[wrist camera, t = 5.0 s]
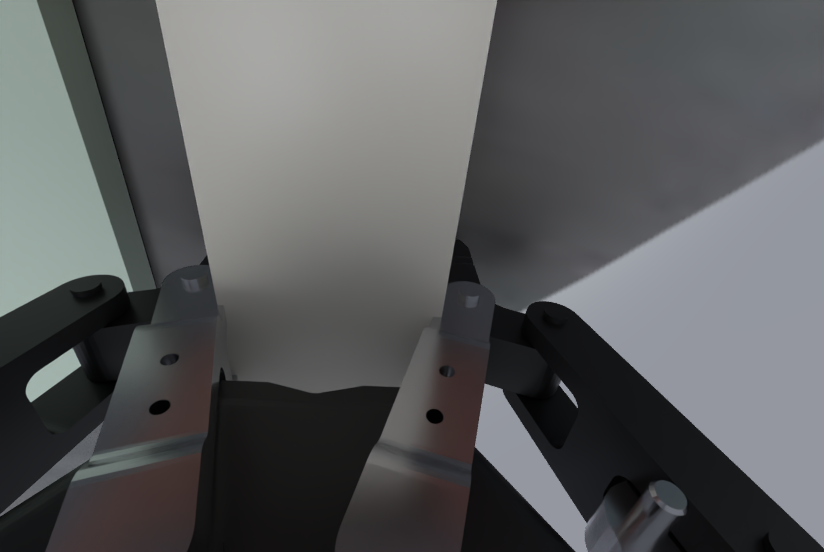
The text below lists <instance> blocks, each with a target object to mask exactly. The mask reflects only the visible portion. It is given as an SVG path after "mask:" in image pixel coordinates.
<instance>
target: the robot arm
mask: <svg viewBox="0 0 824 552" xmlns="http://www.w3.org/2000/svg"><path fill="white" fill-rule="evenodd" d="M226 335H227V320H226V315H225V310H224V305H217V301H216V296H215V291H214V286H213V281H212V276H211V271H210V266H209V261H208V256H206V257H205V259H204V260H203V261H202V262H201V264H200V265H194V266H188V267H184V268H181V269H178V270H176V271H174V272H172V273H170V274H169V275H168V276H167V277H166V278H165V279H164V280H163V283H162V286H161V288H158V289H151V290H142V291H134V292H127V290H126V287H125V284H124V282H123V280H122V279H121V278H119V277H117V276H113V275H105V274H104V275H90V276H85V277H81V278H77V279H74V280H71V281H69V282H66V283H64V284H62V285H60V286H58V287H56V288H54V289H53V290H51V291H49V292H47V293H45V294H43V295H41V296H39V297H37V298H35V299H34V300H32V301H30V302H28V303H26V304H24V305H22V306H20V307H18V308H16V309H15V310H13V311H11V312H9V313H7V314H5V315H3V316H1V317H0V514H1V513H2V512H3V511H4V510H5V509H6V508H7V507H8V506H10V505H11V504H12V503H13V502H14V501H15V500H16V499H17V498H18V497H20V496H21V495H22V494H23V493H24V492H25V491H26V490H27V489H28V488H30V487H31V486H32V485H33V484H34V483H35V482H36V481H37V480H38V479H40V478H41V477H42V476H43V475H44V474H45V473H46V472H47V471H48V470H50V469H51V468H52V467H53V466H54V465H55V464H56V463H57V462H58V461H60V460H61V459H62V458H63V457H64V456H65V455H66V454H67V453H68V452H70V451H71V450H72V449H73V448H74V447H75V446H76V445H77V444H78V443H80V442H81V441H82V440H83V439H84V438H85V437H86V436H87V435H88V434H90V433H91V432H92V431H93V430H94V429H95V428H96V427H97V426H98V425H100V424H101V423H102V422H103V421H104V422H103V425H102V428H101V431H100V434H99V437H98V440H97V443H96V446H95V449H94V452H93V454H92V457H91V459H89V460H88V461H86V462H85V463H83V464H82V465H80V466H79V467H77V468H75V469H74V470H72V471H71V472H69V473H68V474H66V475H65V476H63V477H61V478H60V479H58V480H57V481H55V482H54V483H52V484H50V485H49V486H47V487H46V488H44V489H43V490H41V491H40V492H38V493H36V494H35V495H33V496H32V497H30V498H29V499H27V500H26V501H24V502H22V503H21V504H19V505H18V506H16V507H15V508H13V509H11V510H10V511H8V512H7V513H5V514H4V515H2V516H1V517H0V552H575V551H574V550H573V549H572V548H571V547H570V546H569V545H568V544H567V542H566V541H565V540H563V538H562V537H561V536H560V535H559V534H558V533H557V532H556V531H555V530H554V529H553V528H552V527H551V526H550V525H549V524H548V523H547V522H546V521H545V520H544V519H543V517H542V516H541V515H540V514H539V513H538V512H537V511H536V510H535V509H534V508H533V507H532V506H531V505H530V504H529V503H528V502H527V501H526V500H525V499H524V498H523V497H522V496H521V495H520V493H519V492H518V491H516V489H515V488H514V487H513V486H512V485H511V484H510V483H509V482H508V481H507V480H506V479H505V478H504V477H503V476H502V475H501V474H500V473H499V472H498V471H497V469H495V467H494V466H493V465H492V464H491V463H490V462H489V461H488V460H487V459H486V458H485V457H484V456H483V455H482V454H481V453H480V452H479V451H478V450H477V449H476V448H475V441H476V435H477V429H478V421H479V416H480V409H481V403H482V396H483V390H484V384H489V385H491V386H495V387H498V388H501V389H503V393H504V395H505V397H506V399H507V400H508V402H509V404H510V405H511V407H512V408H513V410H514V411H515V413H516V414H517V416H518V417H519V419H520V420H521V422H522V424H523V425H524V427H525V428H526V429H527V431H528V433H529V434H530V436H531V438H532V439H533V440H534V442H535V444H536V445H537V447H538V448H539V450H540V451H541V453H542V455H543V456H544V458H545V459H546V461H547V462H548V464H549V465H550V467H551V469H552V470H553V471H554V473H555V475H556V476H557V478H558V479H559V481H560V482H561V484H562V486H563V487H564V489H565V490H566V492H567V493H568V495H569V496H570V498H571V499H572V501H573V503H574V504H575V505H576V507H577V509H578V510H579V512H580V513H581V515H582V516H583V518H584V520H585V521H586V522H587V526H586V528H585V542H586V547H587V550H588V552H824V548H823V547H822V546H821V545H820V544H819V543H818V542H816V540H815V539H813V538H812V537H811V536H810V535H809V534H808V533H807V532H806V531H805V530H804V529H803V528H802V527H801V526H800V525H799V524H798V523H797V522H796V521H794V520H793V519H792V518H791V517H790V516H789V515H788V514H787V513H786V512H785V511H784V510H783V509H782V508H781V507H780V506H779V505H777V503H776V502H774V501H773V500H772V499H771V498H770V497H769V496H768V495H767V494H766V493H765V492H764V491H763V490H762V489H761V488H760V487H758V485H756V484H755V483H754V482H753V481H752V480H751V479H750V478H749V477H748V476H747V475H746V474H745V473H744V472H743V471H742V470H741V469H740V468H739V467H738V466H736V465H735V464H734V463H733V462H732V461H731V460H730V459H729V458H728V457H727V456H726V455H725V454H724V453H723V452H722V451H721V450H720V449H718V448H717V447H716V446H715V445H714V444H713V443H712V442H711V441H710V440H709V439H708V438H707V437H706V436H705V435H703V433H701V431H700V430H698V429H697V428H696V427H695V426H694V425H693V424H692V423H691V422H690V421H689V420H688V419H687V418H686V417H685V416H684V415H683V414H681V412H679V411H678V410H677V409H676V408H675V407H674V406H673V405H672V404H671V403H670V402H669V401H668V400H667V399H666V398H665V397H664V396H663V395H661V394H660V393H659V392H658V391H657V390H656V389H655V388H654V387H653V386H652V385H651V384H650V383H649V382H648V381H647V380H646V379H644V377H643V376H641V375H640V374H639V373H638V372H637V371H636V370H635V369H634V368H633V367H632V366H631V365H630V364H629V363H628V362H627V361H626V360H625V359H623V358H622V357H621V356H620V355H619V354H618V353H617V352H616V351H615V350H614V349H613V348H612V347H611V346H610V345H609V344H608V343H607V342H605V341H604V340H603V339H602V338H601V337H600V336H599V335H598V334H597V333H596V332H595V331H594V330H593V329H592V328H591V327H590V326H589V325H588V324H587V323H585V322H584V321H583V320H582V319H581V318H580V317H579V316H578V315H577V314H576V313H575V312H573V311H572V310H570V309H569V308H567V307H565V306H563V305H560V304H557V303H553V302H546V301H541V302H535V303H532V304H531V305H529V307H528V308H527V311H526V314H524V313H520V312H516V311H512V310H509V309H505V308H503V307H500V306H498V305H496V304H495V297H494V295H493V293H492V292H491V291H490V290H489V289H487V288H486V287H484V286H482V285H480V282H479V279H478V276H477V273H476V270H475V267H474V265H473V261H472V258H471V255H470V252H469V249H468V247H467V246H466V245H465V244H464V243H462V242H461V241H460V240H455V244H454V250H453V255H452V261H451V267H450V273H449V278H448V284H447V290H446V295H445V301H444V307H443V313H442V317H433V318H432V321H431V323H430V326H429V327H424V329H423V331H422V334H421V336H420V339H419V341H418V344H417V346H416V349H415V352H414V354H413V357H412V359H411V362H410V364H409V367H408V369H407V372H406V374H405V377H404V379H403V382H402V384H401V387H384V386H359V387H353V388H347V389H341V390H334V391H328V392H322V393H310V392H306V391H302V390H298V389H294V388H290V387H286V386H282V385H278V384H275V383H271V382H256V381H238V377H237V375H232V374H231V369H230V364H229V359H228V353H227V342H226ZM72 348H73V350H74V352H75V354H76V356H77V358H78V360H79V362H80V364H81V366H80V367H79V368H77V369H76V370H75V371H73V372H72V373H71V374H69V375H68V376H66V377H65V378H64V379H62V380H61V381H60V382H58V383H57V384H55V385H54V386H53V387H51V388H50V389H49V390H47V391H46V392H45V393H43V394H42V395H40V396H39V397H38V398H36V399H35V400H34V401H32V402H30V401H29V399H28V398H27V395H26V387H27V384H28V382H29V381H30V379H31V378H32V376H33V375H34V374H35V373H37V372H38V371H39V370H41V369H42V368H44V367H45V366H47V365H48V364H49V363H51V362H52V361H54V360H55V359H57V358H58V357H60V356H61V355H63V354H64V353H66V352H67V351H69V350H70V349H72ZM561 380H562V382H563V383H564V384H565V385H566V387H567V388H568V389H569V390H570V391H571V393H572V394H573V395H574V397H575V399H576V402H577V405H578V408H577V407H576V406H575V405H574V403H573V402H572V401H571V400H570V398H569V397H568V396H567V395H566V393H565V392H564V391H563V390H562V388H561V387H560V386H559V384H560V381H561Z"/></svg>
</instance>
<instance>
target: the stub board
mask: <svg viewBox="0 0 824 552" xmlns="http://www.w3.org/2000/svg"><path fill="white" fill-rule="evenodd" d="M104 274H105V275H113V276H117V277H119V278H121V279H122V280H123V282H124V284H125V287H126V290H127V292H134V291H142V290H151V289H156V286H155V282H154V279H153V275H152V272H151V269H150V265H149V262H148V258H147V255H146V252H145V248H144V245H143V241H142V238H141V235H140V231H139V228H138V224H137V221H136V217H135V214H134V211H133V207H132V204H131V200H130V197H129V194H128V190H127V187H126V183H125V180H124V176H123V173H122V170H121V166H120V163H119V159H118V156H117V153H116V149H115V146H114V142H113V139H112V136H111V132H110V129H109V125H108V122H107V118H106V115H105V112H104V108H103V105H102V101H101V98H100V95H99V91H98V88H97V84H96V81H95V78H94V74H93V71H92V67H91V64H90V60H89V57H88V54H87V50H86V47H85V43H84V40H83V37H82V33H81V30H80V26H79V23H78V19H77V16H76V13H75V9H74V6H73V2H72V0H0V317H1V316H3V315H5V314H7V313H9V312H11V311H13V310H15V309H16V308H18V307H20V306H22V305H24V304H26V303H28V302H30V301H32V300H34V299H35V298H37V297H39V296H41V295H43V294H45V293H47V292H49V291H51V290H53V289H54V288H56V287H58V286H60V285H62V284H64V283H66V282H69V281H71V280H74V279H77V278H81V277H85V276H90V275H104ZM80 366H81V364H80V362H79V360H78V358H77V356H76V354H75V352H74V350H73V348H72V349H70V350H69V351H67V352H66V353H64V354H63V355H61V356H60V357H58V358H57V359H55V360H54V361H52V362H51V363H49V364H48V365H47V366H45V367H44V368H42V369H41V370H39V371H38V372H37V373H35V374H34V375H33V376H32V378H31V379H30V381H29V382H28V384H27V387H26V395H27V398H28V399H29V401H30V402H32V401H34V400H35V399H36V398H38V397H39V396H40V395H42V394H43V393H45V392H46V391H47V390H49V389H50V388H51V387H53V386H54V385H55V384H57V383H58V382H60V381H61V380H62V379H64V378H65V377H66V376H68V375H69V374H71V373H72V372H73V371H75V370H76V369H77V368H79V367H80Z"/></svg>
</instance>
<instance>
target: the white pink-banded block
mask: <svg viewBox="0 0 824 552" xmlns="http://www.w3.org/2000/svg"><path fill="white" fill-rule="evenodd" d="M496 4H497V0H156V5H157V10H158V15H159V20H160V25H161V30H162V35H163V39H164V44H165V49H166V54H167V59H168V64H169V69H170V74H171V79H172V84H173V89H174V94H175V99H176V104H177V108H178V113H179V118H180V123H181V128H182V133H183V138H184V143H185V148H186V153H187V158H188V163H189V168H190V173H191V177H192V182H193V187H194V192H195V197H196V202H197V207H198V212H199V217H200V222H201V227H202V232H203V237H204V242H205V247H206V251H207V256H208V261H209V266H210V271H211V276H212V281H213V286H214V291H215V296H216V301H217V305H224V310H225V315H226V320H227V335H226V342H227V353H228V359H229V364H230V369H231V374H232V375H237V377H238V381H256V382H271V383H275V384H278V385H282V386H286V387H290V388H294V389H298V390H302V391H306V392H310V393H322V392H328V391H334V390H341V389H347V388H353V387H359V386H384V387H401V384H402V382H403V379H404V377H405V374H406V372H407V369H408V367H409V364H410V362H411V359H412V357H413V354H414V352H415V349H416V346H417V344H418V341H419V339H420V336H421V334H422V331H423V329H424V327H429V326H430V323H431V321H432V318H433V317H442V313H443V307H444V301H445V295H446V290H447V284H448V278H449V273H450V267H451V261H452V255H453V250H454V244H455V238H456V233H457V227H458V221H459V215H460V210H461V204H462V198H463V193H464V187H465V181H466V175H467V170H468V164H469V158H470V153H471V147H472V141H473V135H474V130H475V124H476V118H477V113H478V107H479V101H480V96H481V90H482V84H483V78H484V73H485V67H486V61H487V56H488V50H489V44H490V38H491V33H492V27H493V21H494V16H495V10H496Z"/></svg>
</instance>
